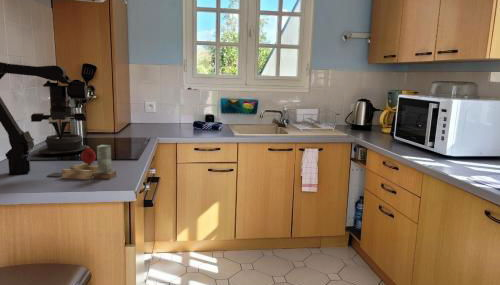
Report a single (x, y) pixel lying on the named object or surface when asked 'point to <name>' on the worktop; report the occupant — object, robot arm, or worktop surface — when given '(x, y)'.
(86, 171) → the tunnel
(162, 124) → the worktop surface
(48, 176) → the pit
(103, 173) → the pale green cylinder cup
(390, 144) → the worktop surface
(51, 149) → the casserole
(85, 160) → the onion
